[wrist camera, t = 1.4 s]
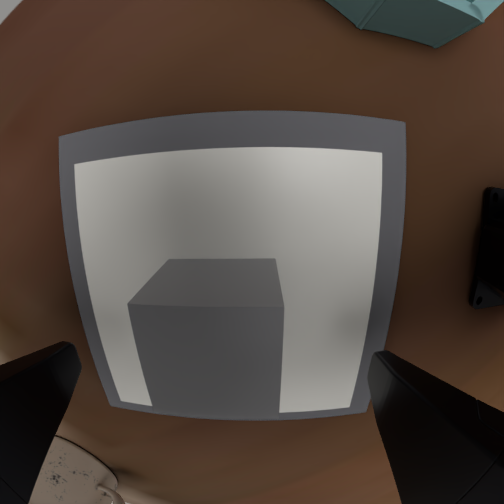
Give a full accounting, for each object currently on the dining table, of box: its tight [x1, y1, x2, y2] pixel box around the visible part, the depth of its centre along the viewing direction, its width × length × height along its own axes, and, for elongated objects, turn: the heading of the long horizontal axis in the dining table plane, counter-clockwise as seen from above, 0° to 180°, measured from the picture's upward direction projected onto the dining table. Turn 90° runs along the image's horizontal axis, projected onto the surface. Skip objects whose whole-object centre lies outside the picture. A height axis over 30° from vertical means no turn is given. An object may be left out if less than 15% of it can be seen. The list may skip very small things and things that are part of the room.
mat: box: [59, 111, 406, 420], centre depth 12 cm, size 15×15×1 cm
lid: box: [74, 147, 382, 419], centre depth 10 cm, size 12×12×5 cm
